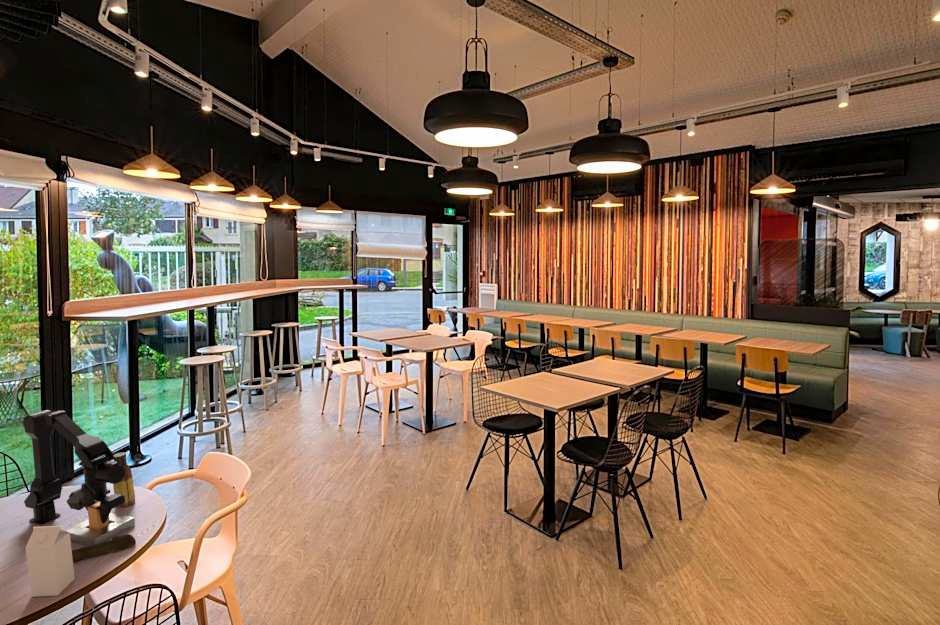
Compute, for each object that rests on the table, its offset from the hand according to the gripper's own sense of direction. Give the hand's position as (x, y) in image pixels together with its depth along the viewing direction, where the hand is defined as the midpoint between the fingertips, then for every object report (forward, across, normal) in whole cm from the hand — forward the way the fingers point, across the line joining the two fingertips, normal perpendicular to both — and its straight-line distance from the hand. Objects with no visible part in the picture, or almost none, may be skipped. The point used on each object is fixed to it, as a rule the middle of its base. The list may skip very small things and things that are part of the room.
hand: (99, 521), depth 176 cm
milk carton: (+4, +15, -25) cm, 29 cm away
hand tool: (+4, +11, -9) cm, 15 cm away
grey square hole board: (+4, 0, 0) cm, 4 cm away
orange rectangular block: (+2, 0, 0) cm, 2 cm away
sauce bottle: (+4, -10, +17) cm, 20 cm away
